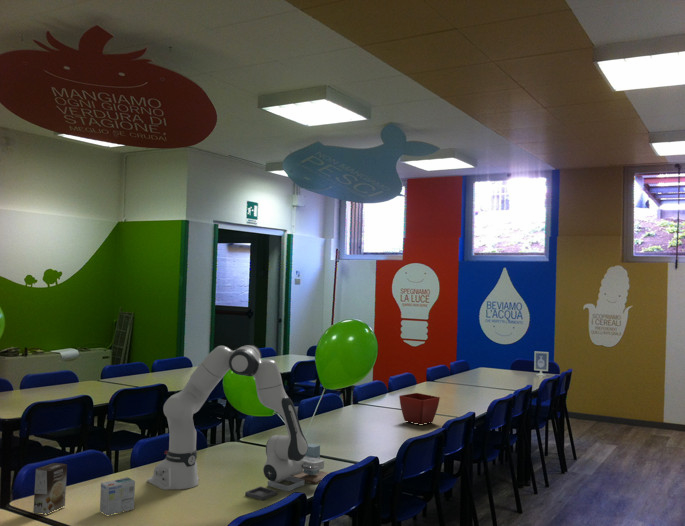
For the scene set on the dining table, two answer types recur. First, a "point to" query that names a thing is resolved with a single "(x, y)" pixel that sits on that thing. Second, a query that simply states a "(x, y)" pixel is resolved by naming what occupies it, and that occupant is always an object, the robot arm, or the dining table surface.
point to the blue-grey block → (312, 452)
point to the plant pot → (419, 407)
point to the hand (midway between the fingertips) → (313, 457)
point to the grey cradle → (296, 484)
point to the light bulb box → (117, 496)
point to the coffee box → (50, 488)
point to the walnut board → (311, 477)
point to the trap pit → (261, 493)
